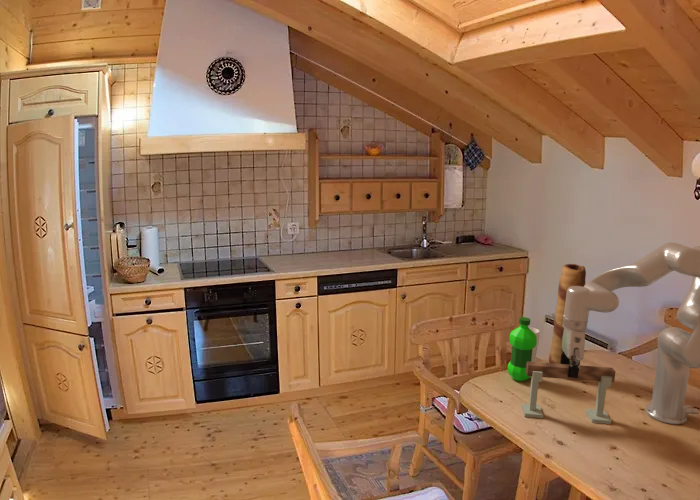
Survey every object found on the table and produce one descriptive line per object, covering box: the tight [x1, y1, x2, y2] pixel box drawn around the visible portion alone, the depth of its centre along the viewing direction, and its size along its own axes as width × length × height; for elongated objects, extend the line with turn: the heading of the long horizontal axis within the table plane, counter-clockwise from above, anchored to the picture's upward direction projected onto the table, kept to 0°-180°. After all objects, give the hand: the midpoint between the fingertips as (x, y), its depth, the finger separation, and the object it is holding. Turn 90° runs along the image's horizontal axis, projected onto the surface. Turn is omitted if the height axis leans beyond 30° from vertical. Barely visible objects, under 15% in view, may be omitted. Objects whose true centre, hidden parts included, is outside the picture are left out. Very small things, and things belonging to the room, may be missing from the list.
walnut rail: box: [526, 361, 616, 384], centre depth 176 cm, size 28×3×4 cm, turn 82°
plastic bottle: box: [507, 316, 537, 382], centre depth 204 cm, size 10×10×25 cm
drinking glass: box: [528, 326, 540, 362], centre depth 219 cm, size 7×7×15 cm
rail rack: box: [520, 371, 612, 425], centre depth 178 cm, size 28×7×17 cm, turn 82°
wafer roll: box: [548, 263, 587, 364], centre depth 207 cm, size 10×11×45 cm
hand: (568, 370), depth 176 cm, fingers open, 9 cm apart
